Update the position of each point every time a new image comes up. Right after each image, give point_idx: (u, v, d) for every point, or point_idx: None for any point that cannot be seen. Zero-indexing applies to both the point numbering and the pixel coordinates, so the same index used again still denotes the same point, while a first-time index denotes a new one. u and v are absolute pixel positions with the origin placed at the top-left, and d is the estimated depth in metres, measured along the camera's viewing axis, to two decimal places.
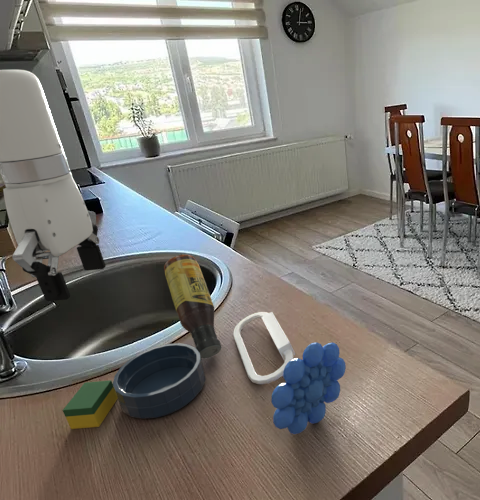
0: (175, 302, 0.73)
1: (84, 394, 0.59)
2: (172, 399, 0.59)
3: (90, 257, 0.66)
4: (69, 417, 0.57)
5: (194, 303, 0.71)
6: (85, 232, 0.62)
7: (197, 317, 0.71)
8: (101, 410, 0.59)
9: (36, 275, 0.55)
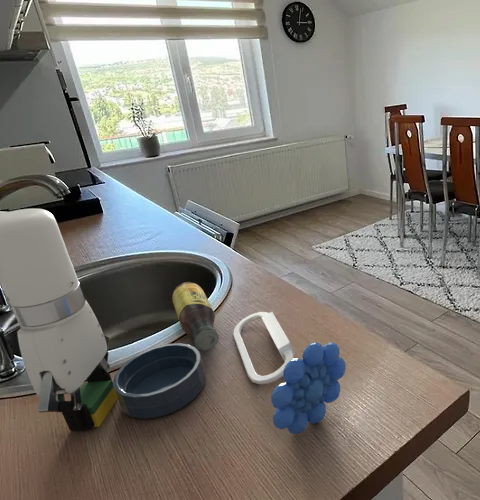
0: (178, 312, 0.78)
1: (84, 394, 0.59)
2: (172, 399, 0.59)
3: None
4: None
5: (194, 304, 0.76)
6: (100, 355, 0.60)
7: (196, 314, 0.74)
8: (101, 410, 0.59)
9: (61, 411, 0.55)
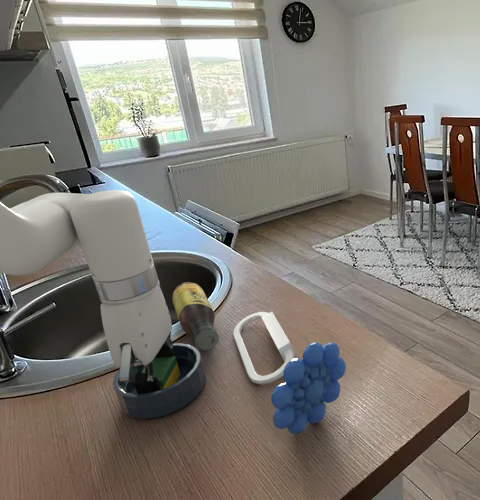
0: (178, 312, 0.78)
1: None
2: (172, 399, 0.59)
3: None
4: None
5: (194, 304, 0.76)
6: (167, 331, 0.63)
7: (196, 314, 0.74)
8: (168, 383, 0.62)
9: (136, 383, 0.58)
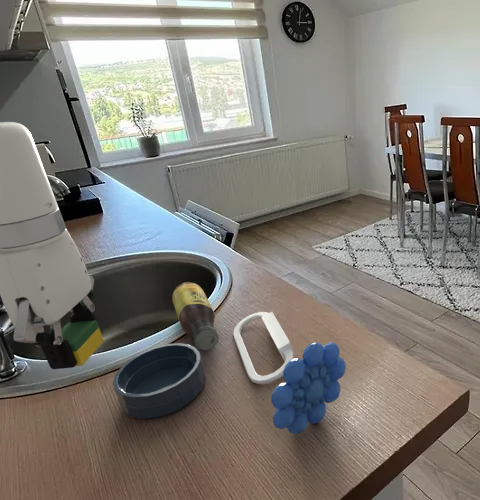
0: (178, 312, 0.78)
1: (67, 333, 0.56)
2: (172, 399, 0.59)
3: None
4: None
5: (194, 304, 0.76)
6: (83, 291, 0.56)
7: (196, 314, 0.74)
8: (84, 348, 0.55)
9: (40, 345, 0.51)
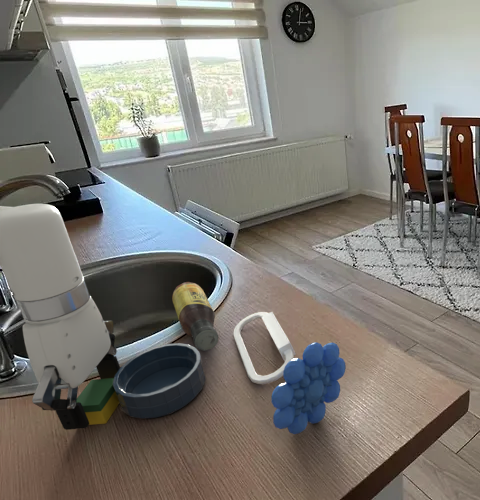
0: (178, 312, 0.78)
1: (91, 391, 0.60)
2: (172, 399, 0.59)
3: (107, 368, 0.64)
4: None
5: (194, 304, 0.76)
6: (104, 350, 0.60)
7: (196, 314, 0.74)
8: (107, 407, 0.59)
9: (55, 410, 0.53)
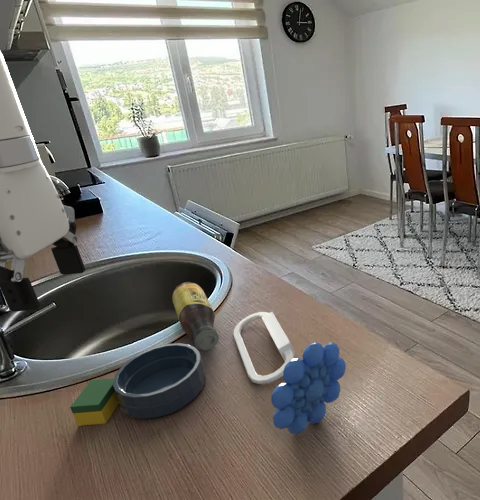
0: (178, 312, 0.78)
1: (91, 391, 0.60)
2: (172, 399, 0.59)
3: (67, 259, 0.57)
4: (76, 414, 0.58)
5: (194, 304, 0.76)
6: (60, 230, 0.53)
7: (196, 314, 0.74)
8: (107, 407, 0.59)
9: None
